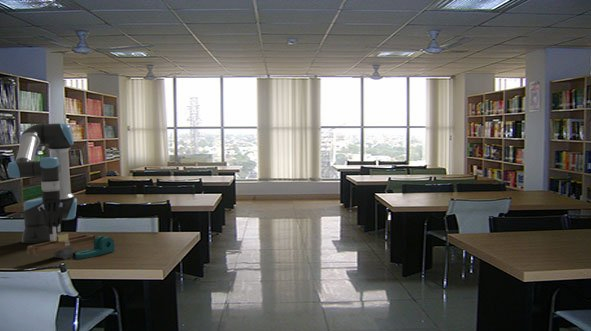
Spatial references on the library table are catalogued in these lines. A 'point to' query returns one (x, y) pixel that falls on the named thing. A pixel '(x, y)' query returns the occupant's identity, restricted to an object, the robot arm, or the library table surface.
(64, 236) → the block
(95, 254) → the bracket
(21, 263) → the library table surface
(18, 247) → the library table surface
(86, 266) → the library table surface
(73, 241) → the brown long open piece
